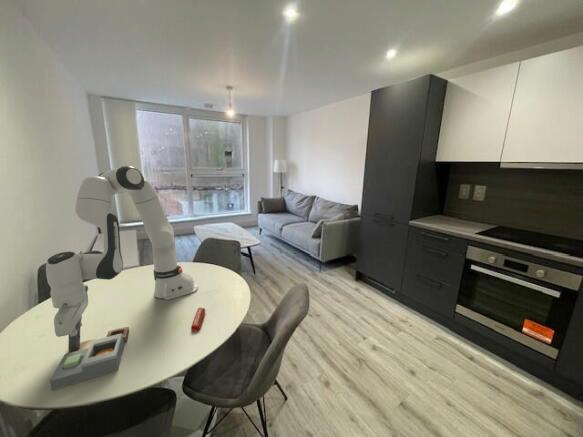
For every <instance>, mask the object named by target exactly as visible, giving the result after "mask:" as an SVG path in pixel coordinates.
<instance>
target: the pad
mask: <svg viewBox="0 0 583 437" xmlns="http://www.w3.org/2000/svg"><path fill="white" fill-rule="evenodd" d="M93 340H97V338H93V339H90V340H89V339H88V340H86V341H85V340H84V341H80V349H79V350H83V349H87V348H89V347H90V345H91V342H92V341H93ZM79 350H78V351H79ZM67 353H71V352H69V351H68V349H67V350H66V351H65V353H64V355H65V354H67Z"/></svg>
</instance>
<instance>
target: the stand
mask: <svg viewBox="0 0 583 437" xmlns="http://www.w3.org/2000/svg"><path fill="white" fill-rule="evenodd" d="M121 333H122V335H123V342H124V344H125V343H127V342H128V337H129V334H130V329H129V326H124V327H121V328H116V329H112V330H111V329H110V330H108V331H107V335H106V337H109V336H113V335H117V334H121Z"/></svg>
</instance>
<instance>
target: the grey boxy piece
mask: <svg viewBox="0 0 583 437" xmlns="http://www.w3.org/2000/svg"><path fill="white" fill-rule="evenodd" d="M106 348H113V349H114V351H112V352H109V353H105V354H101V355H98V356H96V354H97V353H98V352H100V351H101V350H103V349H106ZM124 349H125V343H124V342H123V335H122V333H121V334H117V335H113V336H109V337H102V338H98V339H97V338H96V340H93V341H92V342H91V345H90V347H89V348H87V349H83V350H79V351H75V352H71V353H67V354H65V353H64V355H63V356H62V358H61V360H60V362H59V363H58V365H57V367H56V368H55V370H54V373H53V374H52V376H51V378H50V379H49V386H50V389H51V391H54V390H57V389H60V388H64V387H67V386H71V385H74V384H77V383H79V382H80V383H81V382H84V381H86V380H91V379H93V378H97V377H100V376H103V375H106V374H110V373H114V372H117V371H119V370H120V366H121V365H120V364H121V362H122V357H123V352H124ZM77 354H82V361H81V363H80V365H77V366H74V367H70V368H67V369H64V363H65V361H66V359H67V357H70V356H73V355H77Z"/></svg>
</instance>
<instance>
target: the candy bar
mask: <svg viewBox="0 0 583 437" xmlns="http://www.w3.org/2000/svg"><path fill="white" fill-rule="evenodd" d="M205 313H206V308H204V307H198V308H197V310H196V312H195V315H194V318H193V320H192V324H191V327H190V330H191V331H196V332H199V330H200V328H201V326H202V322H203V319H204V315H205Z"/></svg>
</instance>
